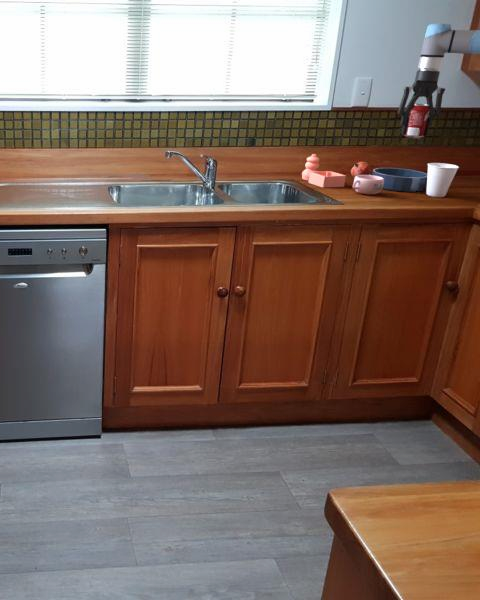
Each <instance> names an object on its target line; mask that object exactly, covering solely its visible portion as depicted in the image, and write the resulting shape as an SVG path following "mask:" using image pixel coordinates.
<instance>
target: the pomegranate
mask: <svg viewBox="0 0 480 600" xmlns="http://www.w3.org/2000/svg"><path fill="white" fill-rule="evenodd" d="M353 165H354V166H353V167H352V168H351V170H350V174H351V176H352V177H353V178H354V179H355V177H356V176H357V175H371V166H370V164H369V162H366V161H359V162H356V163H353Z"/></svg>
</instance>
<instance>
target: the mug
mask: <svg viewBox="0 0 480 600" xmlns="http://www.w3.org/2000/svg"><path fill="white" fill-rule="evenodd" d="M383 185H384V179H383V178H382V177H379V176H373V175H372V174H369V175H357V176H356V177H355V178H354V179H353V184H352V188H353V190H354V191H355V192H357V193H359V194H362V195H368V196H371V195H377V194H379V193H380V192H382V190H383V189H382V188H383Z"/></svg>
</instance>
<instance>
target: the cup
mask: <svg viewBox="0 0 480 600" xmlns="http://www.w3.org/2000/svg"><path fill="white" fill-rule="evenodd" d="M459 168H460V166H458V165H456V164H451V163H445V162H429V163H427V174H428V177H427V185H426V191H425V194H426V195H427V196H429V197H433V198H444V197H446V196H447V193H448V191H449V188H450V186H451V184H452V182H453V180H454V178H455V176H456V174H457V172H458V169H459Z"/></svg>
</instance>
